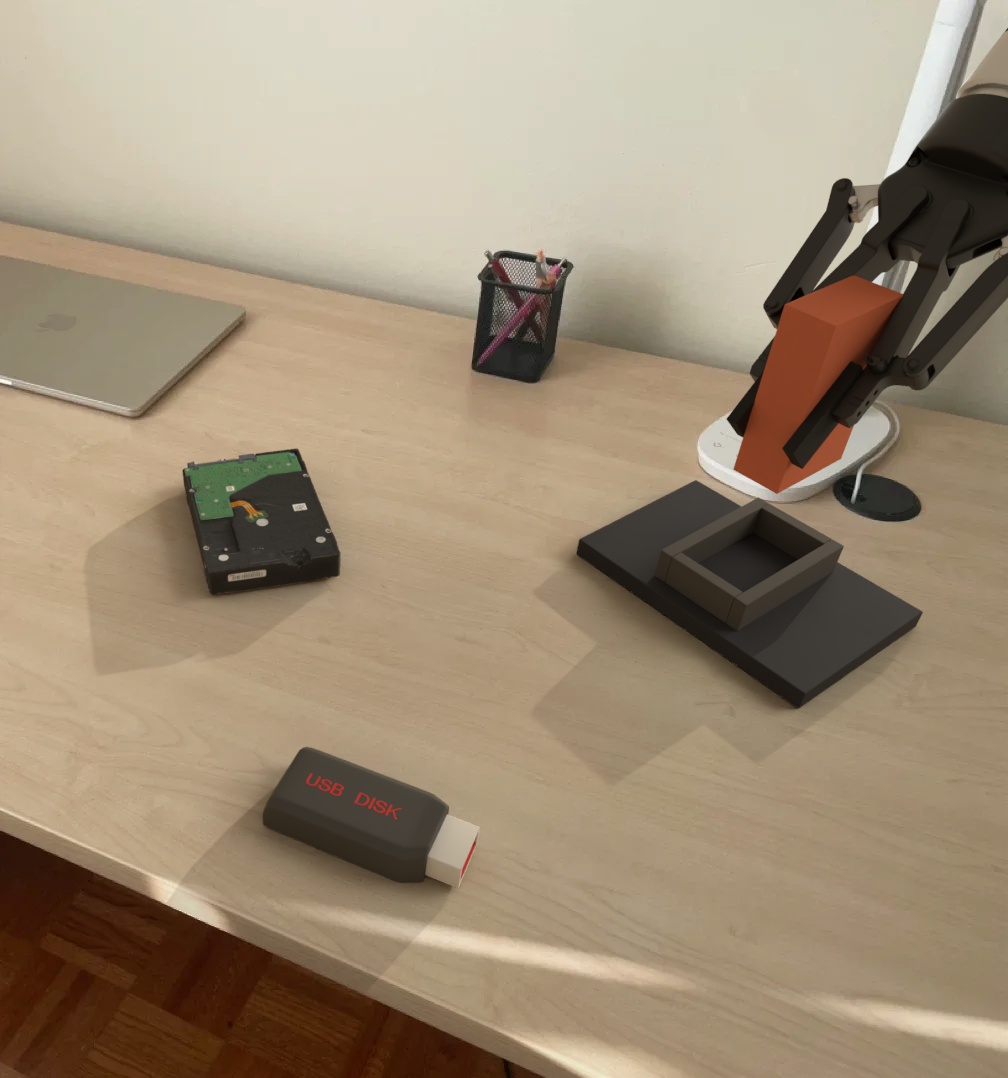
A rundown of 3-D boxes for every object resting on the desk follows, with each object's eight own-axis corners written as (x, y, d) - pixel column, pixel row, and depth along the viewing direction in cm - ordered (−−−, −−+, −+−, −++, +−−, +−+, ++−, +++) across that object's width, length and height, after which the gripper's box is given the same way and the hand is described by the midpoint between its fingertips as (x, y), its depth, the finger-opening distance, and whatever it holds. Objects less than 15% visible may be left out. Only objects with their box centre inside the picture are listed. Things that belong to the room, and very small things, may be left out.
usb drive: (300, 764, 67) (300, 735, 65) (481, 834, 63) (486, 805, 61) (262, 825, 63) (261, 796, 62) (451, 904, 59) (456, 876, 57)
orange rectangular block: (841, 458, 71) (905, 294, 64) (776, 494, 68) (836, 325, 61) (797, 436, 73) (853, 274, 66) (732, 469, 70) (784, 304, 63)
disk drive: (343, 580, 81) (298, 471, 92) (344, 552, 79) (298, 444, 91) (210, 601, 79) (180, 487, 91) (208, 573, 78) (178, 460, 89)
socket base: (916, 626, 77) (936, 585, 74) (798, 709, 70) (816, 667, 68) (691, 493, 90) (703, 454, 87) (575, 553, 83) (584, 513, 81)
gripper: (1157, 202, 62) (894, 527, 65) (892, 128, 72) (677, 410, 75) (1161, 126, 56) (873, 486, 59) (873, 58, 67) (642, 366, 70)
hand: (764, 443), depth 67 cm, fingers closed on orange rectangular block, 3 cm apart
